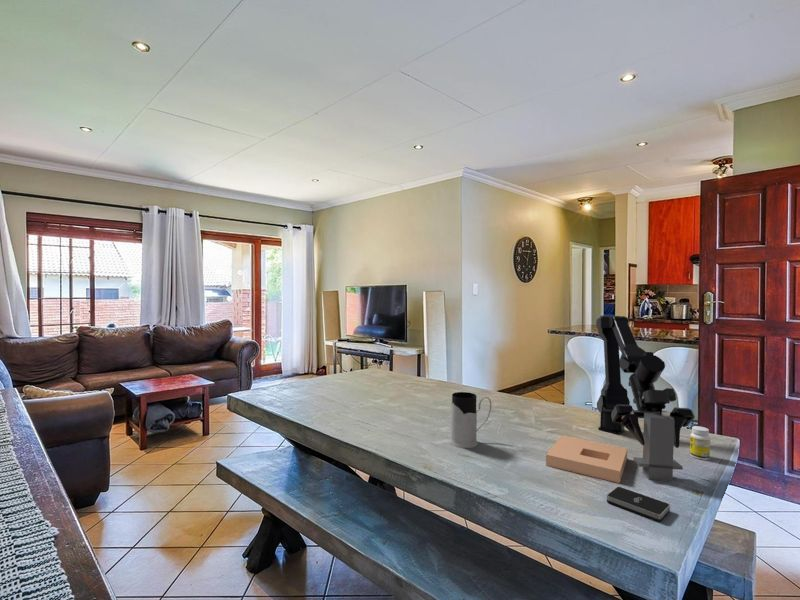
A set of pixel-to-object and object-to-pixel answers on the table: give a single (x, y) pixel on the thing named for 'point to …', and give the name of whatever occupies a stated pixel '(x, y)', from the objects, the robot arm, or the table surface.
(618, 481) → the plate
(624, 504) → the external hard drive
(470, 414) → the grey mug
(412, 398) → the table surface
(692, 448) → the supplement bottle
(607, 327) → the robot arm
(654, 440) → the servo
